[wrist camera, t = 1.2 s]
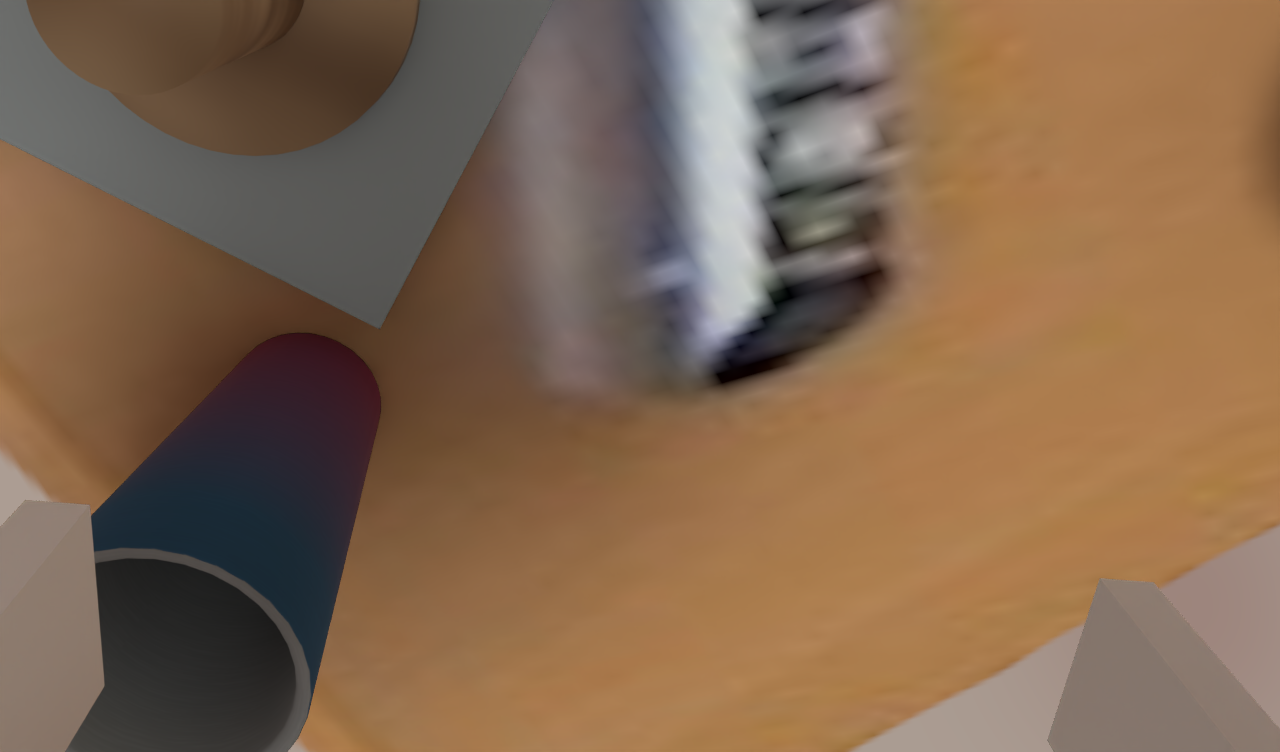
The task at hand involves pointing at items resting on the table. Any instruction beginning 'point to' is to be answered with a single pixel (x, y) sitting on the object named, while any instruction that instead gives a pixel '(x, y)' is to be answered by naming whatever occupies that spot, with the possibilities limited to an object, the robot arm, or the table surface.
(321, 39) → the lid
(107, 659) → the cup
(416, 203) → the mat
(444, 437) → the table surface
